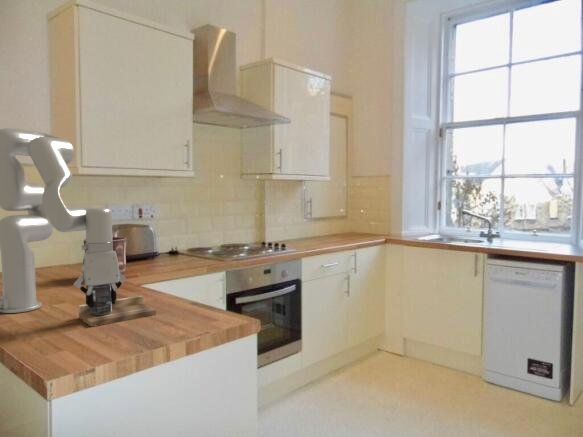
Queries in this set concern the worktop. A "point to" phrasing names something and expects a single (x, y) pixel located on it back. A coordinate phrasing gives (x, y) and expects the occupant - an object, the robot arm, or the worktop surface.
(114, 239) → the pottery
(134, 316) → the board
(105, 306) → the pill bottle
